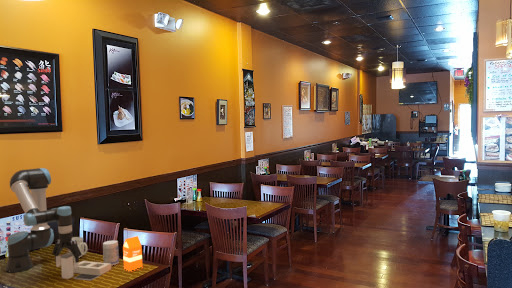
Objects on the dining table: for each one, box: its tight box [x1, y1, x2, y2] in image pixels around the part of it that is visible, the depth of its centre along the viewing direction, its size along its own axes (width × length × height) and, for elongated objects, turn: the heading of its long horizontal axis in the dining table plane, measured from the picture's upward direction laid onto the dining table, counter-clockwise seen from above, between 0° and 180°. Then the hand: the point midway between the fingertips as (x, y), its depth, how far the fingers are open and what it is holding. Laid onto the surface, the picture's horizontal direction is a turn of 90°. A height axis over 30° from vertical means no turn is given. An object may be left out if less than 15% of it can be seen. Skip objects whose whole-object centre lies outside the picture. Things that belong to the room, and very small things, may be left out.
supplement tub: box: [102, 240, 120, 267], centre depth 255 cm, size 10×10×15 cm
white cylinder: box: [60, 252, 75, 280], centre depth 234 cm, size 5×5×14 cm
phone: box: [73, 273, 101, 281], centre depth 233 cm, size 7×13×1 cm, turn 72°
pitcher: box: [66, 236, 88, 260], centre depth 272 cm, size 11×18×14 cm, turn 72°
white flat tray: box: [73, 260, 112, 276], centre depth 243 cm, size 22×10×4 cm, turn 72°
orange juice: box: [122, 235, 143, 272], centre depth 245 cm, size 8×9×20 cm
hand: (67, 267), depth 234 cm, fingers open, 13 cm apart
